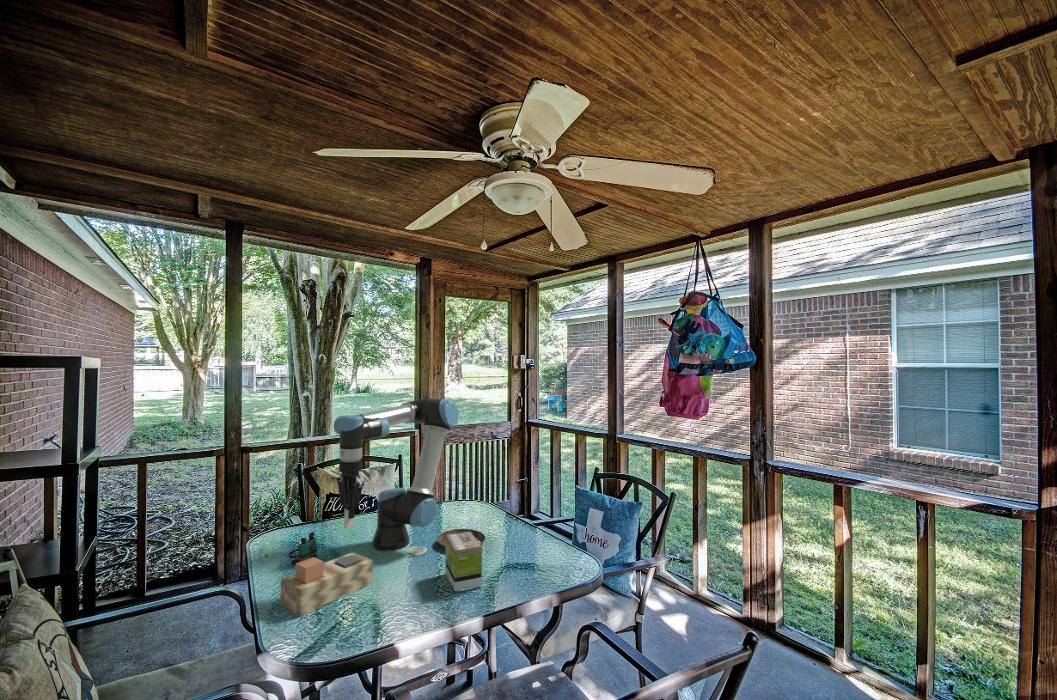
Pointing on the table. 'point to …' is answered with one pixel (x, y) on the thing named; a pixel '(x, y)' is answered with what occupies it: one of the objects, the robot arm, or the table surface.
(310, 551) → the binoculars
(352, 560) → the gray block
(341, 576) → the frame
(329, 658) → the table surface
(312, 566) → the terracotta plunger
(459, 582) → the tea box
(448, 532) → the plant saucer
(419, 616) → the table surface
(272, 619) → the table surface
